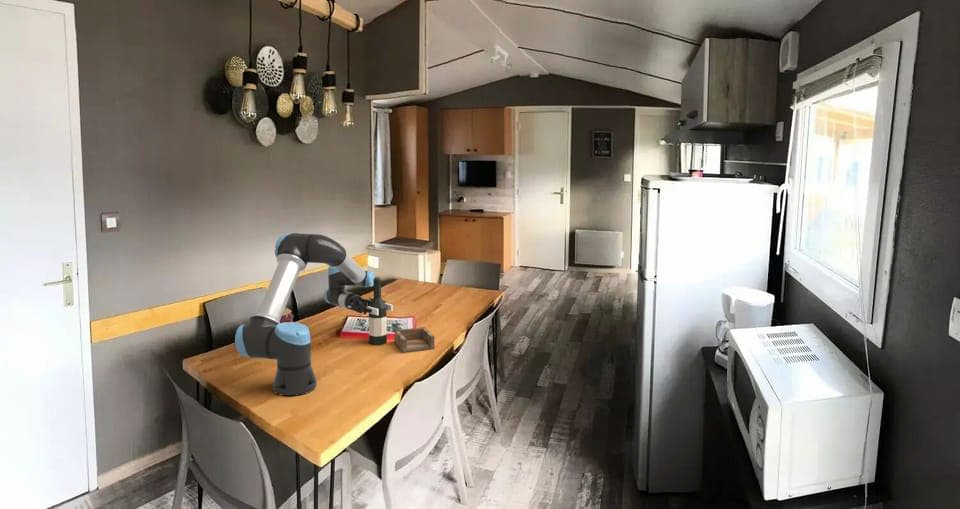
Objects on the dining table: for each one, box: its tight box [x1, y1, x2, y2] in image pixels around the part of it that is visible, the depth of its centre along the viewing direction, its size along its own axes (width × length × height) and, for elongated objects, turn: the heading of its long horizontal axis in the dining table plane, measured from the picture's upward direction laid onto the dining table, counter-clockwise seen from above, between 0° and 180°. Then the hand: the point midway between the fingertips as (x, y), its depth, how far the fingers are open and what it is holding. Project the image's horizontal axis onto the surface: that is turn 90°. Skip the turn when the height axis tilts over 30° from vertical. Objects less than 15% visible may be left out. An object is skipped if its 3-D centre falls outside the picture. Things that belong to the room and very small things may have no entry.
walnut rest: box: [394, 326, 435, 354], centre depth 247 cm, size 14×14×6 cm
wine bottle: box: [368, 276, 388, 346], centre depth 248 cm, size 8×8×30 cm
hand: (385, 310), depth 245 cm, fingers closed on wine bottle, 8 cm apart
